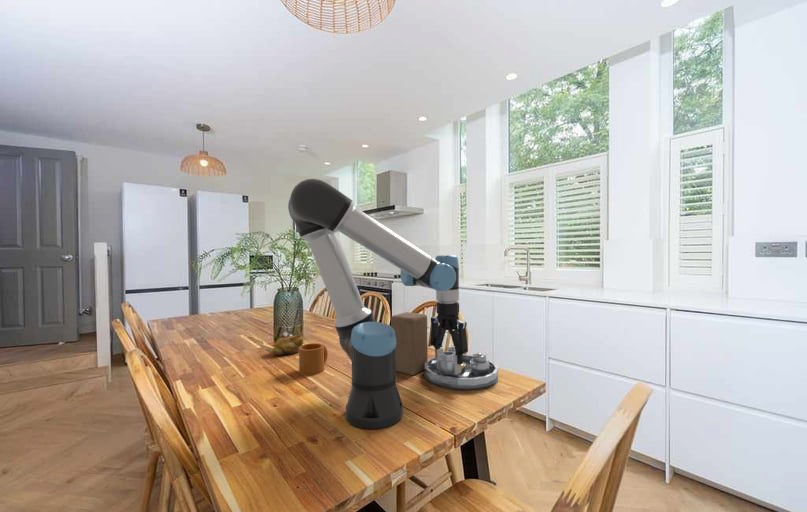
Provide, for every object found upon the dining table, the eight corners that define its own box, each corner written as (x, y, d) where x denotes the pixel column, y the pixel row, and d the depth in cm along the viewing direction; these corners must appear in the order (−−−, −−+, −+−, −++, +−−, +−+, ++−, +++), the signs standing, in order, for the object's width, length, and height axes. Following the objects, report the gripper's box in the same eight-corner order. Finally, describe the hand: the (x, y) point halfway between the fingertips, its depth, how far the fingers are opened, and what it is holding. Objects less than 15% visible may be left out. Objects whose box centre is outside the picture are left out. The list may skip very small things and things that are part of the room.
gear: (450, 376, 107) (450, 358, 106) (434, 371, 112) (434, 353, 111) (463, 371, 111) (463, 353, 111) (447, 366, 116) (447, 348, 116)
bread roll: (274, 359, 136) (274, 339, 136) (268, 353, 144) (267, 334, 144) (305, 352, 144) (305, 334, 144) (297, 347, 152) (297, 330, 151)
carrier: (468, 397, 98) (467, 370, 98) (409, 375, 116) (409, 352, 116) (512, 375, 115) (512, 352, 115) (454, 358, 133) (454, 338, 133)
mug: (336, 368, 124) (336, 344, 124) (307, 377, 116) (307, 352, 115) (322, 362, 131) (322, 339, 130) (294, 371, 122) (294, 346, 121)
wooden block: (413, 376, 115) (412, 318, 115) (390, 370, 121) (389, 315, 121) (428, 368, 123) (428, 314, 123) (407, 363, 129) (406, 311, 129)
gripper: (479, 303, 106) (480, 375, 107) (433, 297, 121) (434, 360, 121) (464, 306, 101) (466, 382, 101) (418, 300, 116) (419, 366, 116)
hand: (448, 370), depth 111 cm, fingers closed on gear, 7 cm apart
